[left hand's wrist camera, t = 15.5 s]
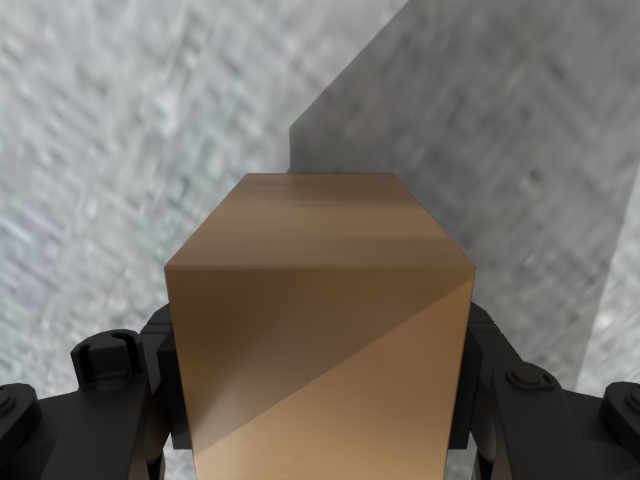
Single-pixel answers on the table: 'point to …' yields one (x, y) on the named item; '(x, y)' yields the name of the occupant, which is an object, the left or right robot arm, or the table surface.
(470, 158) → the table surface
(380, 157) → the table surface
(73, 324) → the table surface
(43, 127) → the table surface
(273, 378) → the bar
